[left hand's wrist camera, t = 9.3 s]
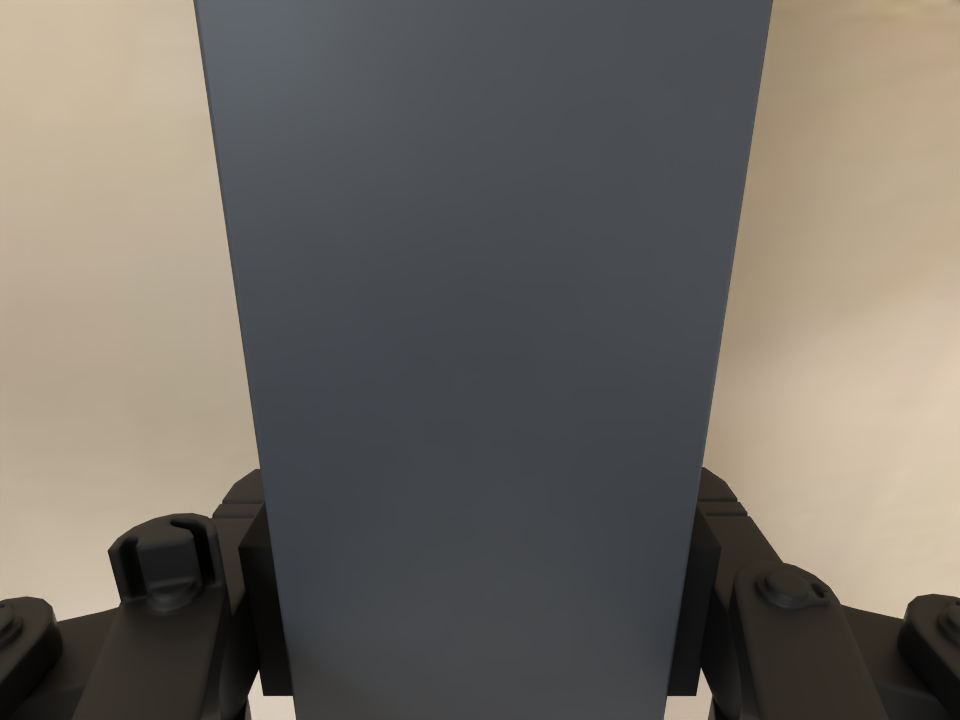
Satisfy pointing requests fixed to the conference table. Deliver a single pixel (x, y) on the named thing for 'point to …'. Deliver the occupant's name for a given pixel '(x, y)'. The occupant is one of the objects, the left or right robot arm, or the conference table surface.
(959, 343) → the conference table surface
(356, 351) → the beam
